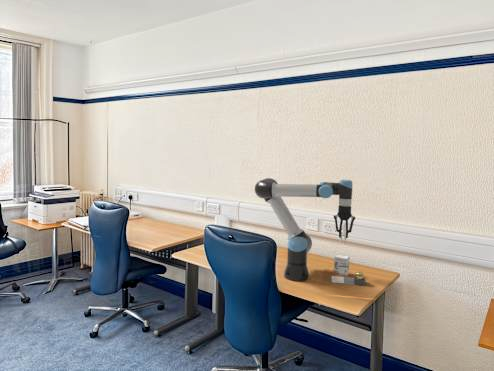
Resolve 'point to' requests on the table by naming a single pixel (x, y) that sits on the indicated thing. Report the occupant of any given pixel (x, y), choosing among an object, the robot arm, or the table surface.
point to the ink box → (341, 264)
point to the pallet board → (342, 280)
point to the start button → (359, 275)
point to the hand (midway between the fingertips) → (342, 243)
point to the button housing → (359, 281)
